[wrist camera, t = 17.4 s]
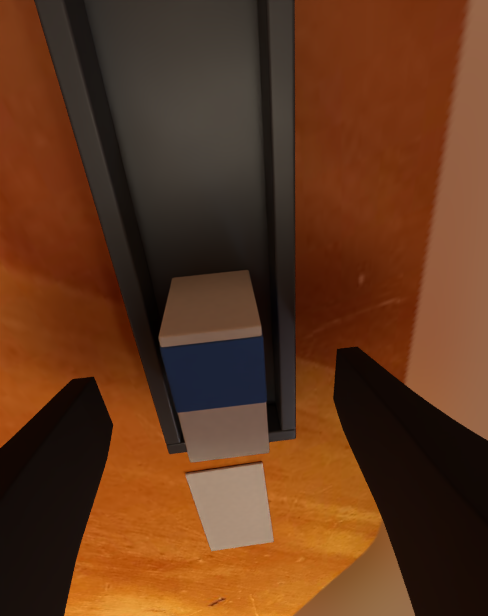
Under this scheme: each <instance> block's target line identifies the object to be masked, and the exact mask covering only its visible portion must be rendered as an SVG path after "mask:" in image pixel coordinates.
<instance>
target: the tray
mask: <svg viewBox="0 0 488 616" xmlns="http://www.w3.org/2000/svg"><path fill="white" fill-rule="evenodd" d="M34 1H35V5H36V8H37V11H38V15H39V18H40V21H41V25H42V28H43V31H44V35H45V38H46V42H47V45H48V48H49V52H50V55H51V58H52V62H53V65H54V68H55V72H56V75H57V79H58V82H59V85H60V89H61V92H62V95H63V99H64V102H65V105H66V109H67V112H68V116H69V119H70V122H71V126H72V129H73V132H74V136H75V139H76V142H77V146H78V149H79V153H80V156H81V159H82V163H83V166H84V169H85V173H86V176H87V179H88V183H89V186H90V190H91V193H92V196H93V200H94V203H95V206H96V210H97V213H98V216H99V220H100V223H101V227H102V230H103V233H104V237H105V240H106V243H107V247H108V250H109V253H110V257H111V260H112V264H113V267H114V270H115V274H116V277H117V280H118V284H119V287H120V290H121V294H122V297H123V301H124V304H125V307H126V311H127V314H128V317H129V321H130V324H131V327H132V331H133V334H134V337H135V341H136V344H137V348H138V351H139V354H140V358H141V361H142V364H143V368H144V371H145V374H146V378H147V381H148V385H149V388H150V391H151V395H152V398H153V401H154V405H155V408H156V411H157V415H158V418H159V422H160V425H161V428H162V432H163V435H164V438H165V442H166V445H167V449H168V452H169V454H175V453H183V452H187V448H186V444H185V440H184V436H183V433H182V429H181V425H180V421H179V417H178V413H177V412H176V410H175V406H174V402H173V398H172V394H171V390H170V386H169V383H168V379H167V375H166V371H165V367H164V363H163V359H162V355H161V352H160V342H159V339H158V337H159V333H160V328H161V324H162V320H163V316H164V311H165V307H166V303H167V299H168V294H169V290H170V286H171V281H172V278H175V277H185V276H194V275H203V274H213V273H222V272H231V271H241V270H248V271H249V274H250V279H251V283H252V287H253V292H254V296H255V301H256V305H257V309H258V314H259V318H260V323H261V329H262V334H263V342H264V358H265V373H266V389H267V401H266V406H267V421H268V436H269V442H273V441H282V440H290V439H295V438H296V343H295V0H34Z"/></svg>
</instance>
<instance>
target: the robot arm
mask: <svg viewBox="0 0 488 616" xmlns="http://www.w3.org/2000/svg"><path fill="white" fill-rule="evenodd" d="M333 399H334V403H335V406H336V409H337V413H338V416H339V419H340V422H341V425H342V428H343V431H344V433H345V435H346V438H347V440H348V442H349V445H350V447H351V449H352V451H353V453H354V456H355V458H356V460H357V462H358V464H359V467H360V469H361V471H362V473H363V475H364V478H365V480H366V482H367V484H368V486H369V489H370V491H371V493H372V495H373V497H374V500H375V502H376V504H377V507H378V509H379V512H380V514H381V516H382V519H383V521H384V524H385V527H386V530H387V533H388V535H389V539H390V541H391V544H392V547H393V550H394V553H395V556H396V558H397V561H398V564H399V567H400V570H401V573H402V576H403V579H404V582H405V585H406V588H407V591H408V594H409V597H410V600H411V603H412V607H413V610H414V613H415V616H488V441H487V440H486V439H484V438H482V437H481V436H479V435H477V434H475V433H474V432H472V431H471V430H469V429H467V428H466V427H464V426H463V425H461V424H460V423H458V422H456V421H455V420H453V419H452V418H450V417H449V416H448V415H446V414H445V413H443V412H442V411H440V410H439V409H437V408H436V407H434V406H433V405H431V404H430V403H429V402H427V401H426V400H424V399H423V398H422V397H420V396H419V395H418V394H416V393H415V392H413V391H412V390H411V389H410V388H408V387H407V386H406V385H404V384H403V383H402V382H401V381H399V380H398V379H397V378H395V377H394V376H393V375H392V374H390V373H389V372H388V371H387V370H385V369H384V368H383V367H382V366H380V365H379V364H378V363H377V362H376V361H374V360H373V359H372V358H371V357H369V356H368V355H367V354H366V353H365V352H363V351H362V350H361V349H360V348H358V347H350V348H341V349H337V356H336V370H335V383H334V396H333ZM112 429H113V423H112V421H111V418H110V416H109V413H108V411H107V408H106V406H105V403H104V401H103V398H102V396H101V393H100V391H99V388H98V386H97V383H96V381H95V378H94V377H87V378H78V379H72V380H71V381H70V382H69V383H68V384H67V385H66V386H65V387H64V388H63V389H62V390H61V391H60V392H58V393H57V394H56V395H55V396H54V397H53V398H52V399H51V400H50V401H49V402H48V403H47V404H46V405H45V406H44V407H43V408H42V409H41V410H40V411H39V412H38V413H37V414H36V415H35V416H34V417H33V418H32V419H31V420H30V421H29V422H28V423H27V424H26V425H25V426H24V427H23V428H22V429H21V430H19V431H18V432H17V433H16V434H15V435H14V436H13V437H12V438H11V439H10V440H9V441H8V442H7V443H6V444H5V445H3V446H2V447H1V448H0V616H64V613H65V608H66V603H67V599H68V594H69V590H70V585H71V581H72V576H73V571H74V567H75V562H76V558H77V555H78V551H79V548H80V544H81V540H82V537H83V534H84V531H85V528H86V525H87V521H88V518H89V515H90V512H91V509H92V506H93V503H94V499H95V496H96V493H97V490H98V487H99V484H100V480H101V477H102V474H103V471H104V467H105V464H106V461H107V457H108V452H109V446H110V441H111V435H112Z"/></svg>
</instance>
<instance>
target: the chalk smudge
mask: <svg viewBox="0 0 488 616" xmlns="http://www.w3.org/2000/svg"><path fill="white" fill-rule="evenodd" d="M186 478H187V481H188V484H189V487H190V490H191V493H192V496H193V498H194V501H195V504H196V507H197V510H198V513H199V516H200V519H201V522H202V525H203V528H204V531H205V534H206V537H207V540H208V543H209V546H210V549H211V551H215V550H222V549H229V548H235V547H242V546H249V545H255V544H262V543H269V542H274V540H273V533H272V526H271V519H270V512H269V505H268V498H267V491H266V484H265V477H264V471H263V464H262V462H258V463H251V464H244V465H238V466H231V467H224V468H217V469H211V470H204V471H197V472H190V473H186Z"/></svg>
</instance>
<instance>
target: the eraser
mask: <svg viewBox="0 0 488 616" xmlns="http://www.w3.org/2000/svg"><path fill="white" fill-rule="evenodd" d="M158 339H159V342H160V352H161V355H162V359H163V363H164V367H165V371H166V375H167V379H168V383H169V386H170V390H171V394H172V398H173V402H174V406H175V410H176V412H177V413H178V417H179V421H180V425H181V429H182V433H183V436H184V440H185V444H186V448H187V452H188V456H189V460H190V462H198V461H206V460H214V459H223V458H231V457H239V456H247V455H255V454H263V453H269V436H268V421H267V406H266V401H267V389H266V373H265V358H264V342H263V334H262V329H261V323H260V318H259V314H258V309H257V305H256V301H255V296H254V292H253V287H252V283H251V279H250V274H249V271H248V270H241V271H231V272H222V273H213V274H203V275H194V276H185V277H175V278H172V281H171V286H170V290H169V294H168V299H167V303H166V307H165V311H164V316H163V320H162V324H161V328H160V333H159V337H158Z"/></svg>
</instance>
